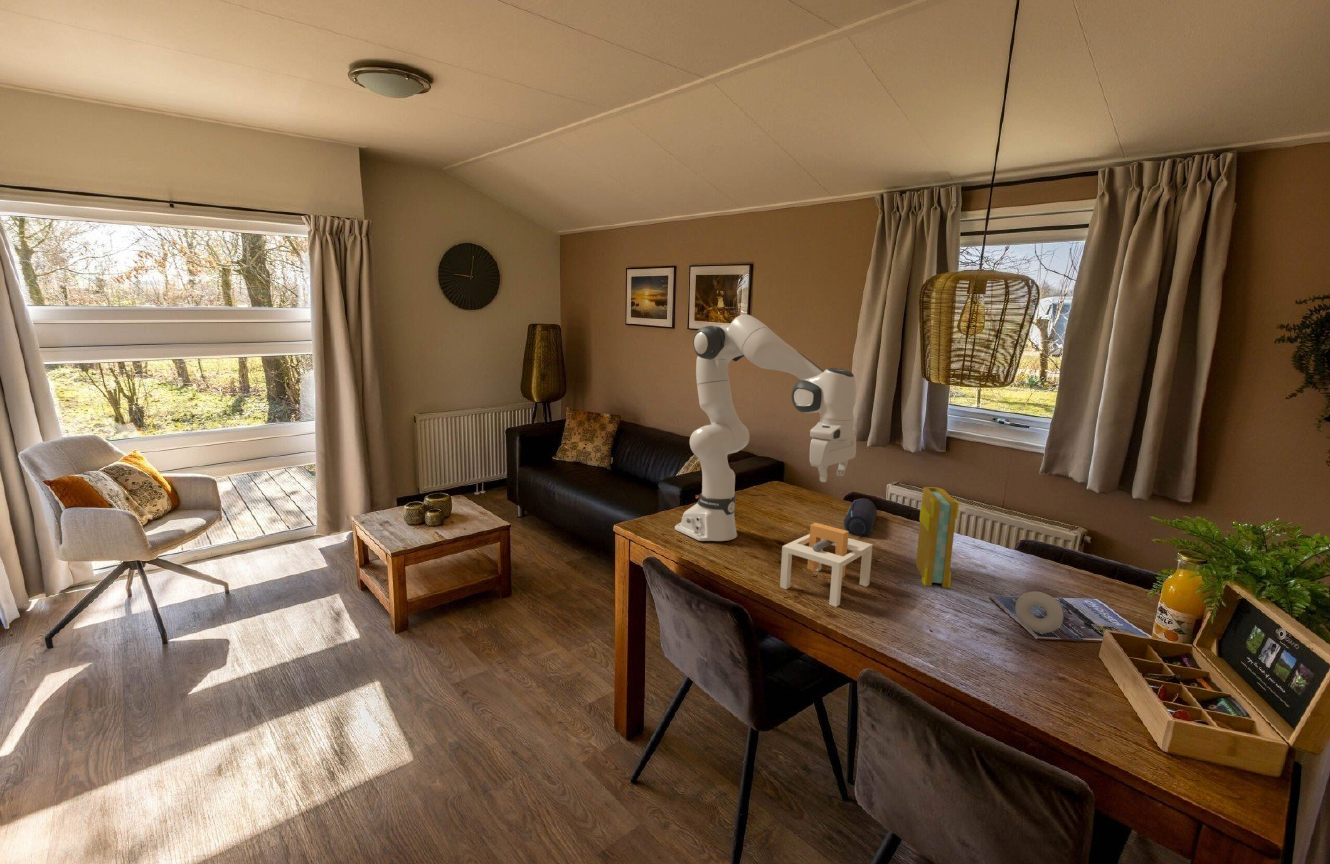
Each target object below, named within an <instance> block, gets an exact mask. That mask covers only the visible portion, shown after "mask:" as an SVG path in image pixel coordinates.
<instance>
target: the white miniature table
mask: <svg viewBox="0 0 1330 864" xmlns="http://www.w3.org/2000/svg"><path fill="white" fill-rule="evenodd" d="M809 538H810V533H808V534H806V535H804V536H802V537H799V538H798V539H795V540H793V541H790V542H788V543H786V544H784V545H782V546H781V547H782V548H781V564H780V579H779V581H780V582H779V588H782V589H784V590H787V589H789V588H791V578H792V577H791V576H792V561H793V560H792V559H793V556H796V557H800V558H802V559H806V560H808V559H809V560H812V561H816V562H819V568H818V569H816V570H814V571H815V572H819V571H821V570H822V566H823V565H826V566H829V567H831V574H830V575H831V578H830V590H829V591H830V592H829V602H828V603H829V604H828V605H830V606H833V607H834V608H835V607H838V606H840V605H841V593H842V581H843V578H842V570H843V566H845V565H846V566H847V565H849V564H850V563H852V562H853V561H854V560H857V559H858V558H860V557H861V558H860V559H861V561H860V574H859V585H860V586H862V587H868V586H869V585H870V579H871V578H870V577H871V570H872V569H871V567H872V555H873V546H874V545H873V543H868V542H865V541H861V540H857V539H853V538H849V537H848V545H847V551H851V552H849V553H847V555H845V556H839V555H836V554H835V553H832V552H828V551H824V549H825V548H827V547H829V546H835V547H836V542H832V541H829V540H825V539H822V538H821V541H820V542H818V543H816V544H814V545H813V547H809V545H808V546H807V545H806V544H809Z"/></svg>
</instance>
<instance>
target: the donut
mask: <svg viewBox="0 0 1330 864" xmlns="http://www.w3.org/2000/svg"><path fill="white" fill-rule="evenodd" d="M1036 606H1037V607H1040V608H1041V607H1042V609H1044V610H1045V611H1046V615H1045V617H1044V618H1039V617H1036V616H1035V615H1034V614H1033V612H1032V608H1033V607H1036ZM1014 608H1015V610H1014V611H1015V614H1016V616H1017V619H1018V620H1019V622H1020V623H1021V625H1023V626H1024V627H1025V628H1027V629H1028V630H1030V631H1033V632H1036V633H1041V634H1046V633H1047V634H1048V633H1052V632H1055V631H1057V630H1058V629H1059V628H1060V627H1061V626H1062V625H1063V622H1064V621H1063V620H1064V611H1063V608H1062V606H1061V604H1060V603H1059V602H1058V601H1057V600H1056V598H1054V597H1053V596H1051V595H1049V594H1047V593H1045V592H1043V591H1042V592H1041V591H1038V590H1037V591H1036V590H1035V591H1034V590H1033V591H1028V592H1025V593H1023V594H1021V595H1020V596H1019V598H1018V599H1016V603H1015V606H1014Z"/></svg>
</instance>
